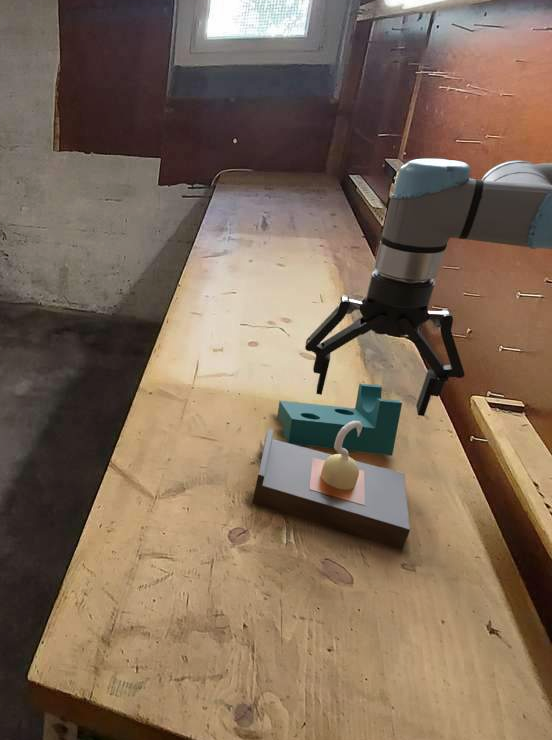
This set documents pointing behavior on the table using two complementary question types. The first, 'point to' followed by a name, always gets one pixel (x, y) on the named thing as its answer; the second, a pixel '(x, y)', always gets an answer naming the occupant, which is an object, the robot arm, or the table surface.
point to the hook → (341, 462)
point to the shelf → (333, 494)
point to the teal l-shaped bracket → (344, 422)
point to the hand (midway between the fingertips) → (367, 400)
